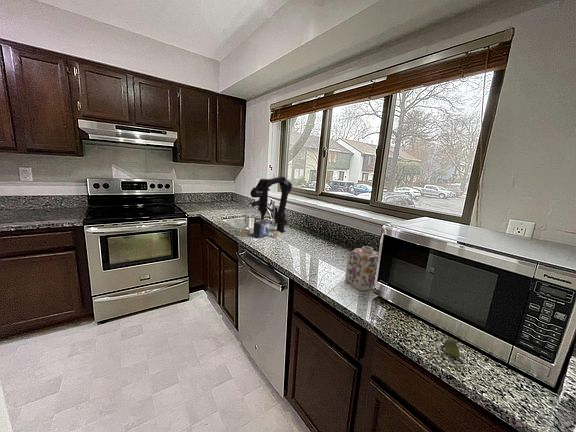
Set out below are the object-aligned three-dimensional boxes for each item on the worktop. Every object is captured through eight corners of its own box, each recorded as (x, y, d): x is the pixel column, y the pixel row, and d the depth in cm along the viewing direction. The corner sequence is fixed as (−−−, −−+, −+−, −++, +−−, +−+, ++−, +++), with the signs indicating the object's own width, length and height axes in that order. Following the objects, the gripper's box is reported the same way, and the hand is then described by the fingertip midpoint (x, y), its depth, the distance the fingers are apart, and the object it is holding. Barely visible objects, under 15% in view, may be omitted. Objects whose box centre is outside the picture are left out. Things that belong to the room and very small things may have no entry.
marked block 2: (275, 236, 182) (275, 230, 181) (279, 237, 180) (280, 231, 179) (272, 237, 178) (272, 231, 177) (276, 238, 176) (277, 232, 175)
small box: (259, 238, 172) (260, 224, 170) (252, 236, 175) (253, 222, 173) (269, 236, 180) (270, 222, 178) (262, 234, 184) (263, 220, 182)
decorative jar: (380, 289, 111) (387, 251, 107) (359, 291, 106) (365, 252, 103) (364, 277, 122) (369, 243, 118) (344, 279, 117) (349, 243, 114)
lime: (448, 347, 76) (451, 333, 75) (464, 359, 71) (468, 343, 70) (438, 350, 74) (441, 336, 73) (454, 362, 69) (458, 347, 68)
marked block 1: (245, 234, 179) (245, 229, 178) (249, 235, 177) (250, 230, 176) (241, 235, 176) (242, 229, 175) (246, 236, 174) (246, 231, 173)
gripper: (252, 194, 180) (251, 215, 183) (251, 197, 162) (250, 220, 165) (267, 195, 182) (266, 216, 185) (268, 199, 163) (266, 221, 166)
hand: (262, 218), depth 175 cm, fingers closed
